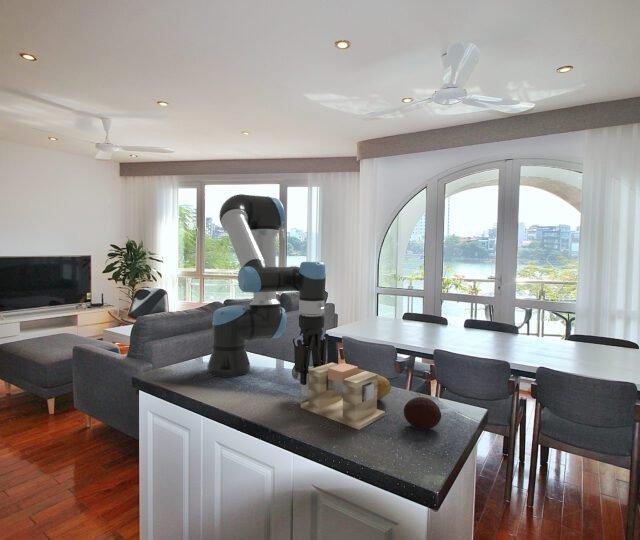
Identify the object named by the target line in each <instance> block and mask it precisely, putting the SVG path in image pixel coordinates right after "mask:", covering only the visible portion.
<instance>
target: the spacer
mask: <svg viewBox="0 0 640 540" xmlns="http://www.w3.org/2000/svg"><path fill="white" fill-rule="evenodd" d="M338 364H339V363H338ZM358 369H359V366H356V365H353V364H349V363H346V362H343V363H340V364H339V365H336V366H333V367H330V368H328V379H329V380H333V381H336V382H339V383H343V379H346V378H349V377H351V376H354V375H357V374H358Z"/></svg>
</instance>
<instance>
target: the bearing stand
mask: <svg viewBox="0 0 640 540" xmlns="http://www.w3.org/2000/svg"><path fill="white" fill-rule="evenodd" d="M336 365H339V363H335V362H329V363H326V365H322V366H319V367H316V368H313V369H309V396H308V400H307V401H305V402H302V403H300V408H301V409H304V410H306V411H309V412H311V413H314V414H317V415H320V416H322V417H324V418H327V419H329V420H333V421H335V422H337V423H341V424H343V425H346V426H349V427H350V428H353V429H355V430H362V429H363V428H366V427H367V426H368V425H370V424H372V423H374V422H376V421H377V420H379V419H381V418H383V417H385V415H386V411H384V410H381V409H378V400H377V384H378V375H379V374H378V373H375V372H372V371H369V372H367V371H368V370H365V372H362V373H359V374H357V375H354V376H351V377H349V378H346V379H343V394H342V393H339V392H336V391H333V390H330V389H326V385H327V375H328V368H330V367H333V366H336ZM371 372H372V373H371ZM367 383H371V384H374V398H372V399H370V400H368V401H364V400H362V386H363V385H365V384H367Z"/></svg>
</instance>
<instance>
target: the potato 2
mask: <svg viewBox="0 0 640 540" xmlns="http://www.w3.org/2000/svg"><path fill="white" fill-rule="evenodd" d="M403 415H404V418H405V420H406V422H407V423H408V424H410V425H411V426H412V427H413V428H415V429H418V430H423V431H424V430H430V429H433V428H435V427H436V426H438V424H439V423H440V422H441V418H442V411H441V409H440V408H439V406H438V404H436V402H435V401H433V400H432V399H430V398H429V397H424V396H419V397H418V396H416V397H413V398H411V399H410V400H408V401H407V402H406V403H405V405H404V408H403Z"/></svg>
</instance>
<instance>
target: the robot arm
mask: <svg viewBox="0 0 640 540" xmlns="http://www.w3.org/2000/svg"><path fill="white" fill-rule="evenodd" d="M285 215H286V213H285V209H284V205H283V203H282V202H281V200H280V199H279V198H277V197H271V196H264V195H263V196H262V195H252V194H242V193H239V194H235V195H232V196H230V197H229V198H227V199H226V200H225V201H224V202H223V204H222V206H221V207H220V211H219V222H220V225H221V228H222V229H223V230H224V231H226V232H227V235H228V237H229V240H230V242H231V245H232V247H233V250H234V253H235V256H236V258H237V260H238V263H239V265H240V268H239V271H238V273H237V281H238V288H239V290H241V292H244V293H253V299H252V301H250V303H249V308H247V307H246V306H245V305H243V304H236V305H227V306H224V307H220V308H219V307H218V308H217V309H216V310H215V311H214V312H213V315H212V323H211V324H212V351H211V354H210V357H209V360H208V364H207V367H206V368H207V369H206V371H207V374H208V375H211V376H213V377H219V378H232V377H238V376H240V377H241V376H243V375H247V374H248V373H249V372H250V371H251V363H250V360H249V356H248V353H247V350H246V342H248V341H258V340H271V339H277V338H280V337H281V336H282V335H283V333H284V332H285V330H286V326H287V314H286V309H285V308H284V307H282V306H281V302H280V301H279V299H277V293H279V292H299V298H298V307H299V308H298V313H299V316H298V327H299V328H300V332H299V336H298V337H296V338H293V339H292V344H293V348H294V349H293V350H294V365H295V371H296V372H299V373H300V381H299V383H300V395H301V396H302V395H303V396H306V397H309V373H308V368H309V366H310V360H311V357H312V367H314V368H316V367H319V366H322V365H326V364H327V363H326V362H327V349H328V347H327V346H328V340H329V333H326V332H323V328H325V315H324V314H325V308H326V306H325V303H326V301H325V300H326V280H327V278H326V277H327V273H326V264H325V263H324V262H322V261H301V262H300V264H299V266H292V265H291V266H277V263H276V262H277V261H276V259H277V258H276V256H277V255H276V237H277V235H278V234H279V232H280V229H281V228H282V227H283V226H284V224H285V220H286V216H285Z"/></svg>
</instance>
